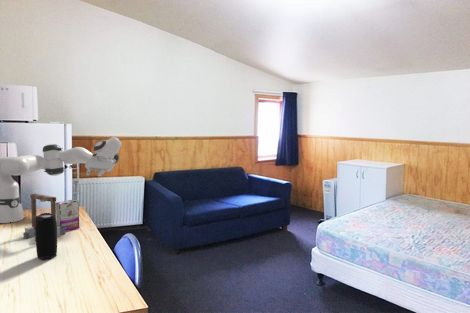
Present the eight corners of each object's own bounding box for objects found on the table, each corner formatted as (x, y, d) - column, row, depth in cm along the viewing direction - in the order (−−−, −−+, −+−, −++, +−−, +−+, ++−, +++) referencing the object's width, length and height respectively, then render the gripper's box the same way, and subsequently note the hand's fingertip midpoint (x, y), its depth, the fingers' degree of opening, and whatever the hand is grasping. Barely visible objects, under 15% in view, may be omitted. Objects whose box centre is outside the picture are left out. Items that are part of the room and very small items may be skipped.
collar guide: (22, 238, 188) (21, 228, 188) (50, 230, 202) (50, 221, 202) (38, 242, 182) (38, 233, 181) (66, 234, 196) (66, 225, 195)
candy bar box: (75, 226, 210) (74, 199, 209) (79, 228, 207) (79, 200, 206) (56, 231, 201) (55, 202, 200) (60, 232, 198) (59, 203, 197)
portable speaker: (37, 262, 157) (35, 218, 155) (35, 255, 165) (34, 213, 163) (58, 258, 161) (57, 216, 160) (56, 252, 169) (55, 211, 168)
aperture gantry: (31, 234, 195) (29, 194, 193) (36, 233, 197) (34, 193, 195) (52, 240, 186) (51, 198, 184) (57, 238, 189) (56, 197, 187)
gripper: (119, 162, 226) (108, 179, 218) (96, 160, 235) (84, 177, 227) (114, 155, 222) (102, 173, 214) (90, 154, 231) (78, 171, 223)
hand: (93, 175), depth 221 cm, fingers open, 8 cm apart
